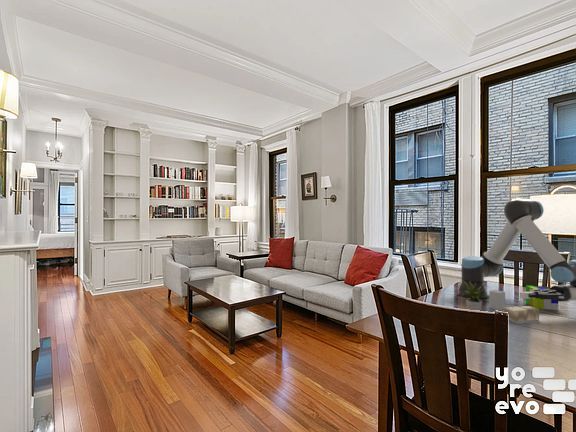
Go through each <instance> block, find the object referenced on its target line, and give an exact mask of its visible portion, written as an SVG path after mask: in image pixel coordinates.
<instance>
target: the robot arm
mask: <svg viewBox="0 0 576 432" xmlns="http://www.w3.org/2000/svg"><path fill="white" fill-rule="evenodd" d="M503 212H504V213H503V214H504V217H505V218H506V220H507V222H506V224H505V225H504V227H503V228H502V230H501V232H499V235H498V236H497V237H496V239H495V240H494V242H493V243H492V245H491V247H490V248H489V250H488V251H484V252H483V253H482V256H474V255H473V256H465V257H463V258H462V259H461V265H460V266H461V284H459V289H458V295H459V296H462V297H464V298H468V297H469V298H470V296H469V295H468V293H467V292H465V291H469V290H468V289H467V288H468V287H470V282H471V284H472V285H473V286H474V285H475V284H476V283H477V284H476V285H475V289H474V291H476V289H478V288H480V286H481V285H482V286H481V288H480V290H479V291H481V290H482V289H483V288H484V289H483V290H482V291H481V292H480V293H479V294H484V295H481V296H480V297H479V298H478V299H480V300H481V299H486V298H488V292H487V290H486V288H485V287H486V286H485V283H484V282H485V279H484V278H489V277H490V278H491V277H495V276H498V275H500V274H501V273H502V272H503V269H504V266H503V265H504V262H505V261H504V258H505V257H506V256H507V254H508V252H510V249H511V248H512V247H513V245H514V244H515V243H516V241H517V240H518V238H519V237H520V236H521V235H522V236H523V238H524V239H525V240H526V241H527V243H529V245H530V246H531V247H532V249H533V250H534V251H535V252H536V253H537V254H538V256H539V257H540V258H541V259H542V261H543V262H544V264H545V265H546V266H547V267H548V269H549V270H550V277H551V279H552V280H553V281H555V282H557V283H560V284H559V285H552V286H550V287H549V288H550V289H544V290H541V289H540V288H537V289H533V290H528V292H526V291H519V299H522V300H523V299H525V300H526V298H540V299H551V300H555V301H558V302H567V303H569V302H571V301H576V259H570V260H569V262H568V261H567V260H566V259H565V258H564V256H562V254H561V253H560V252H559V250H557V248H556V247H555V246H554V245H553V244H552V242H551V241H550V239H548V238H547V237H546V235H545V234H544V233H543V231H542V230H541V229H540V228H539V227H538V226H537V224H535V222H534V221H536V220H538V219H540V218H541V217H542V216H543V214H544V206H543V204H542V203H541V202H540V201H538V200H536V199H532V198H514V199H511V200H509V201H508V202H507V203H505V205H504V208H503ZM463 281H464V282H463ZM476 281H477V282H476ZM465 282H466V283H467V285H468V287H467V285H466V284H465ZM563 283H565V284H563ZM567 283H569V284H567ZM463 284H464V285H465V286H466V287H467V288H466V287H465V286H464V285H463ZM461 285H462V286H461ZM463 286H464V287H465V288H466V289H465V288H464V287H463ZM470 288H471V287H470ZM459 291H460V292H459ZM463 293H466V295H467V296H468V297H467V296H466V295H465V294H464V295H462V294H463ZM470 294H471V293H470ZM485 294H486V295H485ZM483 296H484V297H483ZM481 297H482V298H481Z"/></svg>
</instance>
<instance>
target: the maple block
mask: <svg viewBox="0 0 576 432" xmlns="http://www.w3.org/2000/svg"><path fill="white" fill-rule="evenodd" d="M503 312H508V314H509V320H511V321H510V322H512V321H513V323H514V321H528V320H537V321H540V309H537V308H534V307H532V306H530V305H527V306H526V305H525V306H524V305H522V306H510V307H509V306H508V307H506V306H505V308H504V309H503ZM509 320H508V321H509Z"/></svg>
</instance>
